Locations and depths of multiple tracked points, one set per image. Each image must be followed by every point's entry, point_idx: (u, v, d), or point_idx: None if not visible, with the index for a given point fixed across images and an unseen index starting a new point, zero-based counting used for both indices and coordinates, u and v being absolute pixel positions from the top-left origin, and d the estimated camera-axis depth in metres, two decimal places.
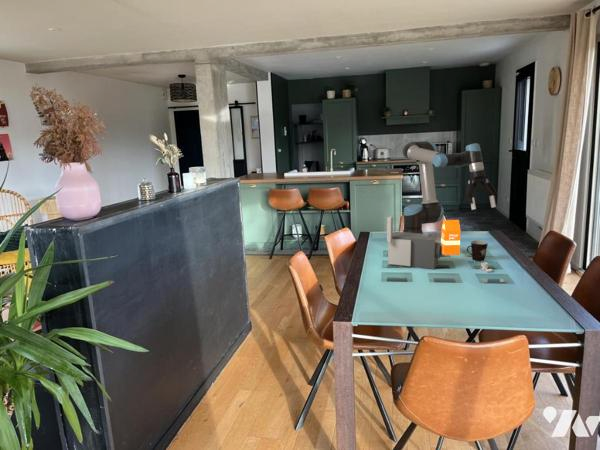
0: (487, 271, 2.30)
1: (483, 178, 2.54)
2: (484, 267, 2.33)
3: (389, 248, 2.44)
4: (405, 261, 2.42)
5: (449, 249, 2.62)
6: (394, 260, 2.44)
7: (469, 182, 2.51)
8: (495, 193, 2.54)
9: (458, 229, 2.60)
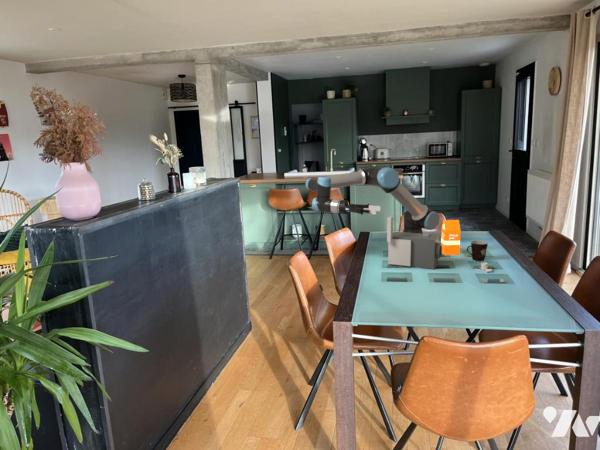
0: (487, 271, 2.30)
1: None
2: (484, 267, 2.33)
3: (389, 248, 2.44)
4: (405, 261, 2.42)
5: (449, 249, 2.62)
6: (394, 260, 2.44)
7: None
8: (361, 214, 2.38)
9: (458, 229, 2.60)
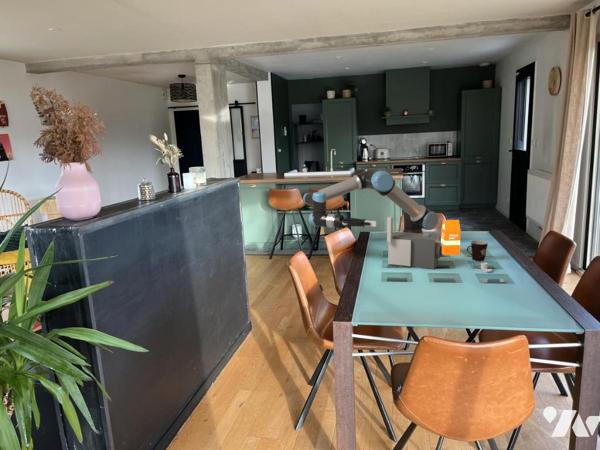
0: (487, 271, 2.30)
1: None
2: (484, 267, 2.33)
3: (389, 248, 2.44)
4: (405, 261, 2.42)
5: (449, 249, 2.62)
6: (394, 260, 2.44)
7: None
8: None
9: (458, 229, 2.60)
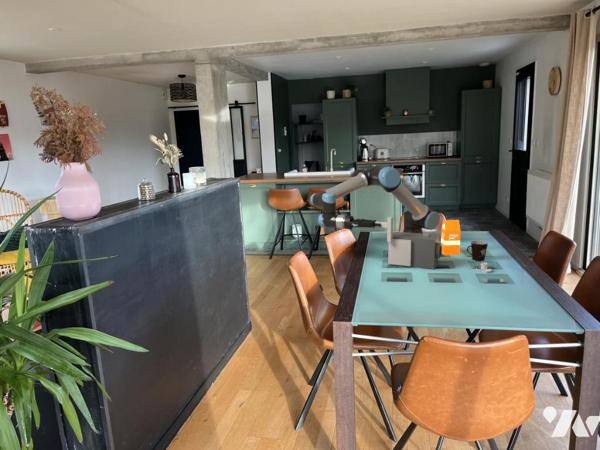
0: (486, 271, 2.30)
1: None
2: (483, 267, 2.33)
3: (389, 248, 2.44)
4: (405, 261, 2.42)
5: (449, 249, 2.62)
6: (394, 260, 2.44)
7: None
8: None
9: (458, 229, 2.60)
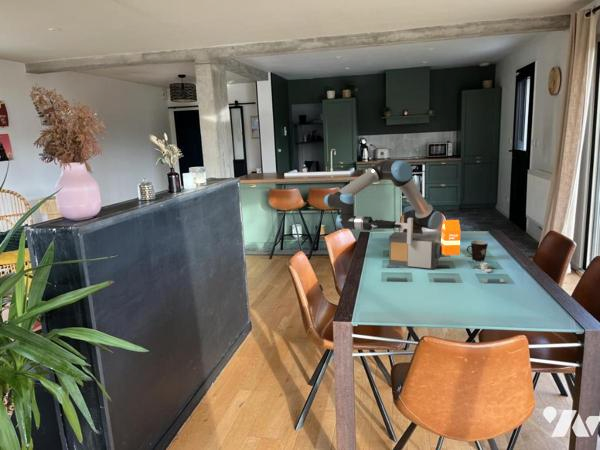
0: (486, 271, 2.30)
1: None
2: (483, 267, 2.33)
3: (409, 250, 2.40)
4: (425, 263, 2.37)
5: (449, 249, 2.62)
6: (414, 262, 2.40)
7: None
8: (393, 229, 2.38)
9: (458, 229, 2.60)
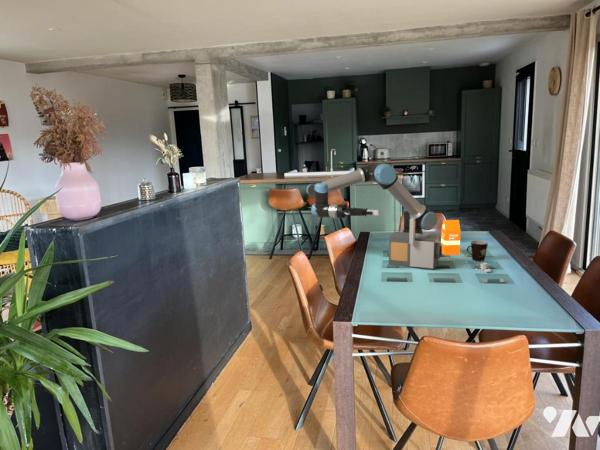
0: (486, 271, 2.30)
1: (343, 214, 2.52)
2: (483, 267, 2.33)
3: (411, 250, 2.39)
4: (428, 263, 2.37)
5: (449, 249, 2.62)
6: (416, 262, 2.39)
7: None
8: None
9: (458, 229, 2.60)
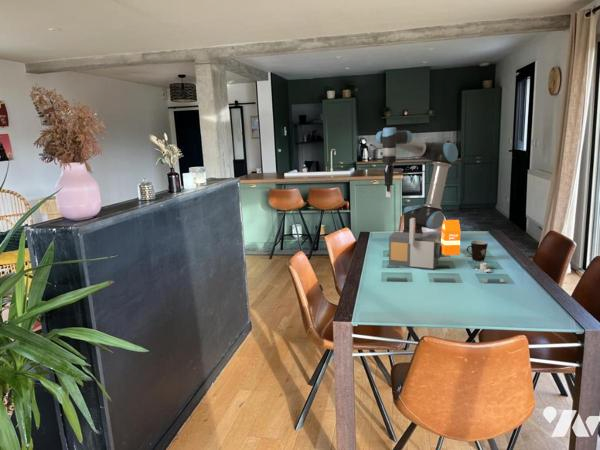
0: (486, 271, 2.30)
1: None
2: (483, 267, 2.32)
3: (411, 250, 2.39)
4: (428, 263, 2.37)
5: (449, 249, 2.62)
6: (416, 262, 2.39)
7: None
8: None
9: (458, 229, 2.60)
